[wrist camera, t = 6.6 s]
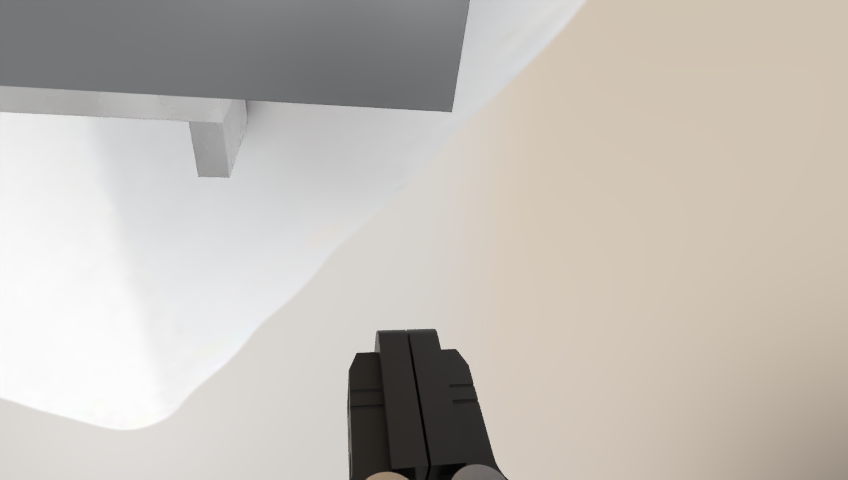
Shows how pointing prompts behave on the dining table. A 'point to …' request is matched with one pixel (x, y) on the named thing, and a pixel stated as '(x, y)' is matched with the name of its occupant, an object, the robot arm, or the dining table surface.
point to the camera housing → (240, 49)
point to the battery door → (148, 117)
